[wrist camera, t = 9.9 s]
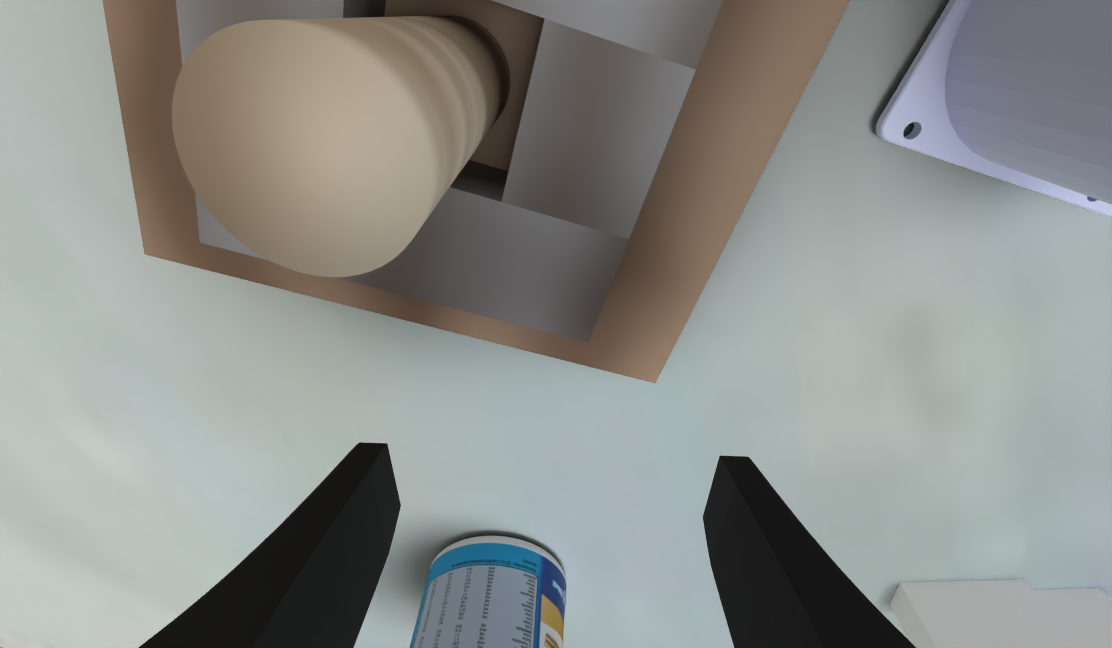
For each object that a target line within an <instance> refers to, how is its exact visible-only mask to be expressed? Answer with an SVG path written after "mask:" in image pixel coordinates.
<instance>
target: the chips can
mask: <svg viewBox="0 0 1112 648" xmlns="http://www.w3.org/2000/svg"><path fill="white" fill-rule="evenodd" d="M565 604H566V579H565V575H564V572H563V570H562V568H561V566H560V565H559V563H558V562H557V561H556V560H555V559H554V558H553V557H552V556H551V555H550V554H549V553H548V552H546V551H545V550H543V549H542V548H540V547H538V546H536V545H534V544H532V543H529V542H526V541H523V540H520V539H516V538H511V537H505V536H478V537H472V538H468V539H464V540H461V541H458V542H456V543H454V544H452V545H450V546H448V547H447V548H445V549H444V550H442V551H441V552H440V553H439V554H438V555H437V556H436V558H435V559H434V560H433V562H432V564H431V566H430V568H429V572H428V575H427V579H426V583H425V589H424V595H423V598H422V602H421V606H420V610H419V613H418V617H417V621H416V625H415V629H414V633H413V636H412V640H411V644H410V648H563V628H564V613H565Z"/></svg>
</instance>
